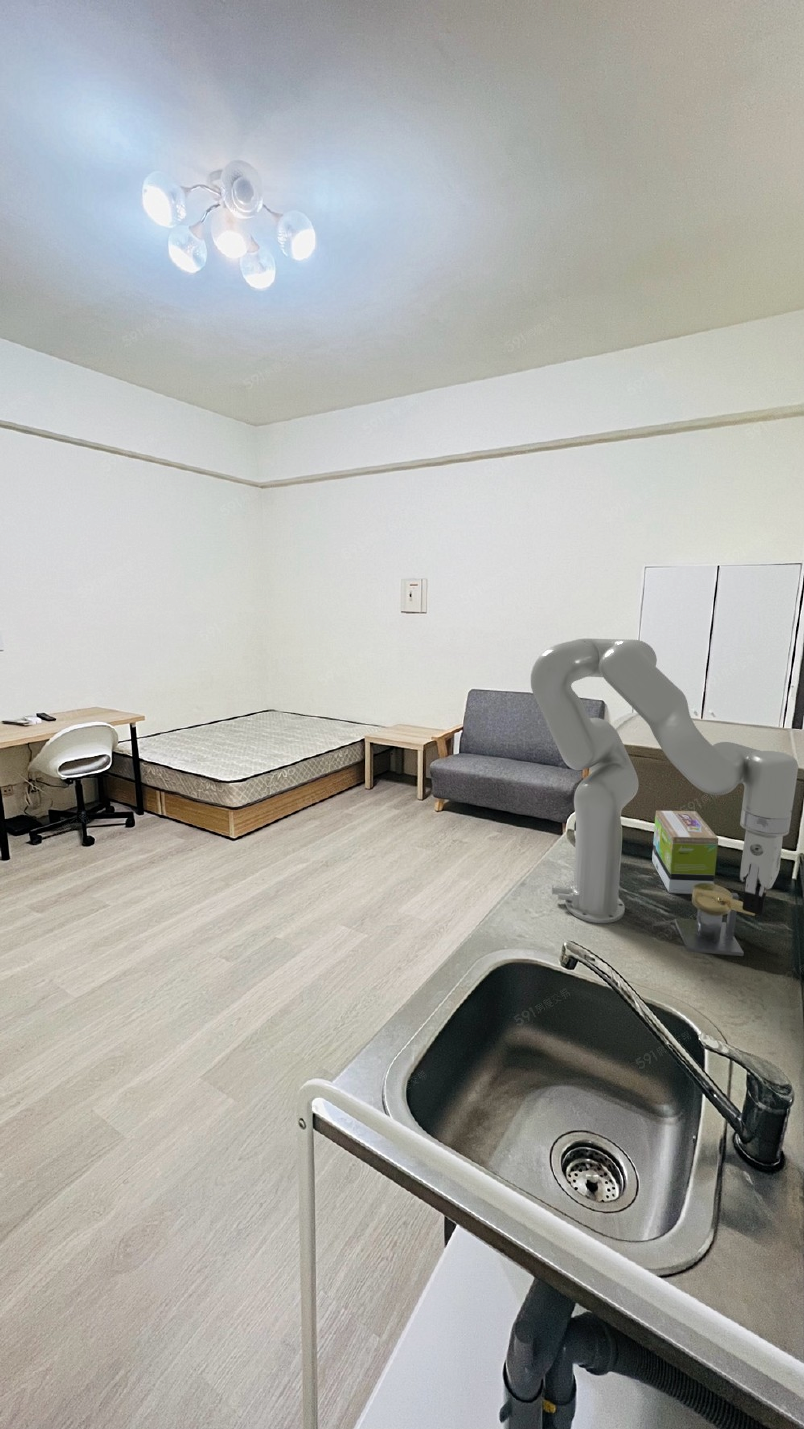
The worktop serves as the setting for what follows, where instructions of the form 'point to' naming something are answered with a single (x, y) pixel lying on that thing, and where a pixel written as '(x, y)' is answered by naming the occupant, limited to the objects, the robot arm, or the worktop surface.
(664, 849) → the tea box
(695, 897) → the crank with handle
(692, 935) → the grey crank stand
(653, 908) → the worktop surface
